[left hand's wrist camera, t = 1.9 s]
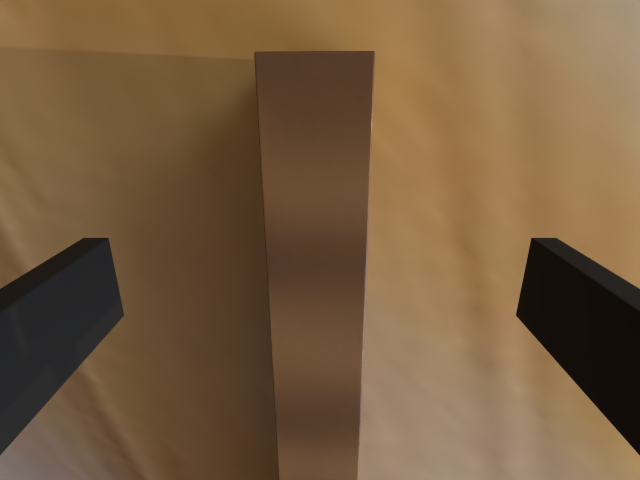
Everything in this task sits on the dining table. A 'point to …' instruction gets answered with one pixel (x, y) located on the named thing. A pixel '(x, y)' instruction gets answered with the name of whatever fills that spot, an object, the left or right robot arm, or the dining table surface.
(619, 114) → the dining table surface
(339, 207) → the post
